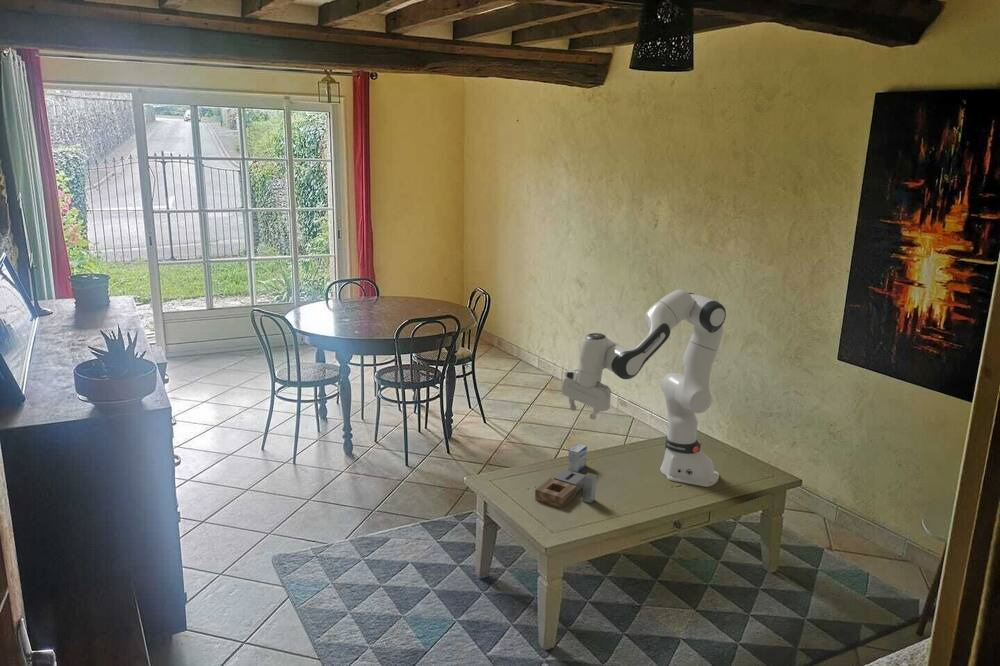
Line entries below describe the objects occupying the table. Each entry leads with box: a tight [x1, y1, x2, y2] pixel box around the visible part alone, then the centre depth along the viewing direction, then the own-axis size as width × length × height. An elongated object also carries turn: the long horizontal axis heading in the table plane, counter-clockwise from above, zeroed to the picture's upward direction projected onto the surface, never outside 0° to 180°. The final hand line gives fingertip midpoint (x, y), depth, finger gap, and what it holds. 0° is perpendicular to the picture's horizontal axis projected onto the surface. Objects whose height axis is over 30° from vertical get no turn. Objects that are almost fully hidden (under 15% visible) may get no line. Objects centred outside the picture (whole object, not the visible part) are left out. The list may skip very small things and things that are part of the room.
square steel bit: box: [582, 472, 597, 504], centre depth 258 cm, size 3×3×10 cm
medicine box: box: [567, 443, 588, 473], centre depth 285 cm, size 8×4×9 cm, turn 148°
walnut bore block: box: [534, 478, 577, 509], centre depth 261 cm, size 11×11×4 cm
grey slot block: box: [553, 468, 585, 494], centre depth 270 cm, size 9×9×4 cm
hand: (582, 414), depth 257 cm, fingers open, 8 cm apart
